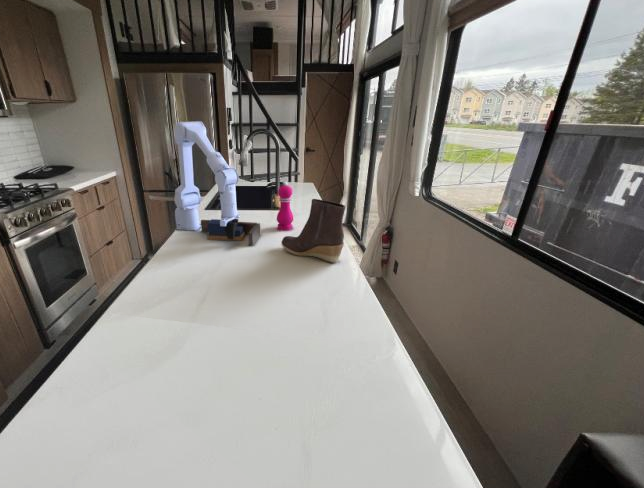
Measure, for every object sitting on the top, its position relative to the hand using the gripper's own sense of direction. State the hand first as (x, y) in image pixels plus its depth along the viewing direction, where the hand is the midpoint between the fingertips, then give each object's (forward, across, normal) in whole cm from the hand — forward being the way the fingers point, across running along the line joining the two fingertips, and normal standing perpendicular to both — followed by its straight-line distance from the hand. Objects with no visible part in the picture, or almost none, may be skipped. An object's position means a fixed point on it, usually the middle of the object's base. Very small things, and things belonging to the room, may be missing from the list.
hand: (230, 238), depth 123 cm
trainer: (+2, +7, +4) cm, 9 cm away
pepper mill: (+3, +22, -17) cm, 28 cm away
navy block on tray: (+2, +6, +4) cm, 8 cm away
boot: (+3, -4, -31) cm, 31 cm away
